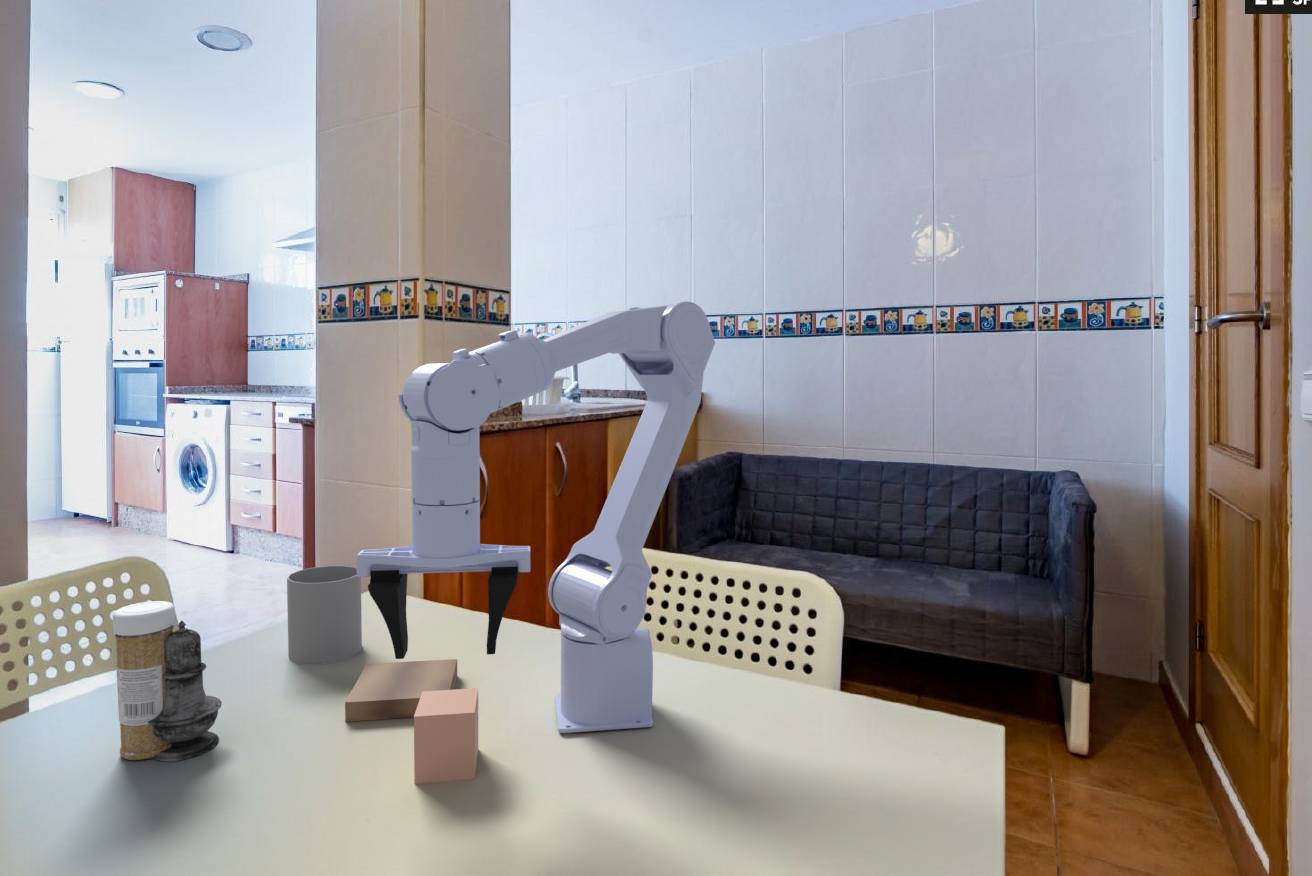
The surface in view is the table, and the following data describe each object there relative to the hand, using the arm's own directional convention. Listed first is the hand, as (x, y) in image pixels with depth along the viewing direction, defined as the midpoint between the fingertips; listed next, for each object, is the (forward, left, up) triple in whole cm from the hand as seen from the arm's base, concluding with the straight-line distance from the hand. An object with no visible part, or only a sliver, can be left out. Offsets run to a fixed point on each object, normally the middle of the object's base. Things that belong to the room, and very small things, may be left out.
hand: (446, 652), depth 63 cm
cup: (+18, -30, -11) cm, 36 cm away
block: (0, 0, -10) cm, 11 cm away
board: (+6, -15, -10) cm, 19 cm away
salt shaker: (+24, -7, -11) cm, 27 cm away
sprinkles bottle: (+27, -7, -11) cm, 30 cm away
